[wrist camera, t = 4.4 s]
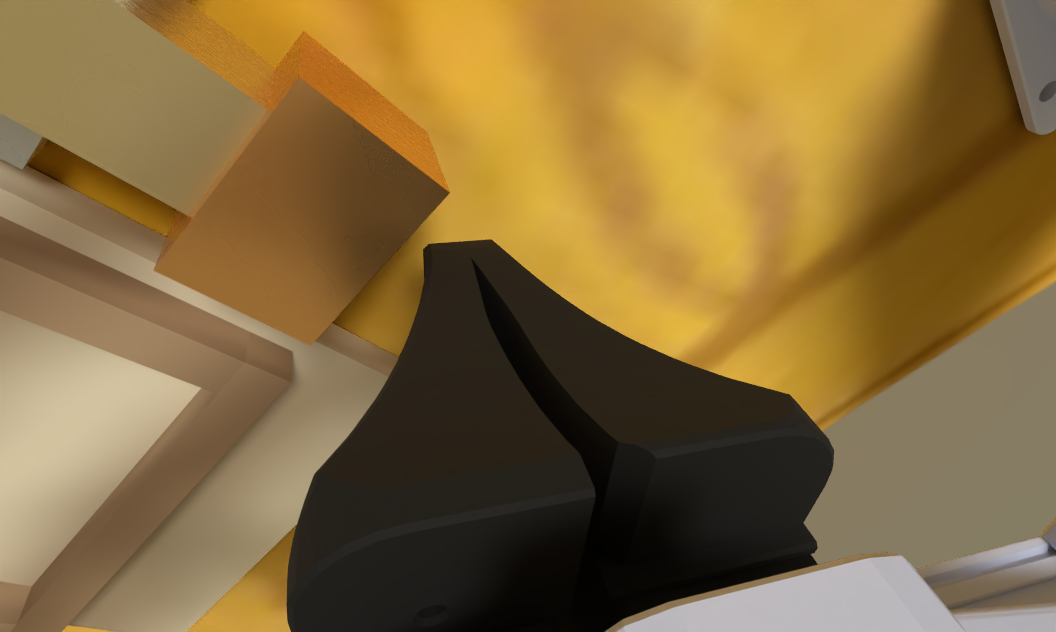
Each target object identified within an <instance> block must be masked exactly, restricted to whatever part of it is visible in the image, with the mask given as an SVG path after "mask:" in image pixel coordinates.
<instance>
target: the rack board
mask: <svg viewBox="0 0 1056 632" xmlns="http://www.w3.org/2000/svg"><path fill="white" fill-rule="evenodd" d="M165 240H166V237H165V236H163V235H161V234H159V233H157V232H155V231H153V230H151V229H149V228H147V227H145V226H143V225H141V224H139V223H138V222H136V221H134V220H132V219H130V218H128V217H126V216H124V215H122V214H120V213H118V212H116V211H114V210H112V209H110V208H108V207H107V206H105V205H103V204H101V203H99V202H97V201H95V200H93V199H91V198H89V197H87V196H85V195H83V194H81V193H79V192H78V191H76V190H74V189H72V188H70V187H68V186H66V185H64V184H62V183H60V182H58V181H56V180H54V179H52V178H50V177H48V176H47V175H45V174H43V173H41V172H39V171H37V170H35V169H33V168H31V167H29V166H27V165H26V166H25V167H24V168H23V169H20V168H18V167H16V166H14V165H12V164H10V163H8V162H6V161H4V160H2V159H0V632H62V631H63V630H64V629H65V627H66V626H67V625H71V626H78V627H86V628H93V629H101V630H109V631H116V632H186V631H188V630H189V629H190V628H191V627H192V626H193V625H194V624H195V623H196V622H197V621H198V620H199V619H200V618H201V617H202V616H203V615H204V614H205V613H206V612H207V611H208V610H209V609H210V608H211V607H212V606H213V605H214V604H215V603H216V602H217V601H218V600H219V599H220V598H221V597H223V596H224V595H225V594H226V593H227V592H228V591H229V590H230V589H231V588H232V587H233V586H234V585H235V584H236V583H237V582H238V581H239V580H240V579H241V578H242V577H243V576H244V575H245V574H246V573H247V572H248V571H249V570H250V569H251V568H252V567H253V566H254V565H255V564H257V563H258V562H259V561H260V560H261V559H262V558H263V557H264V556H265V555H266V554H267V553H268V552H269V551H270V550H271V549H272V548H273V547H274V546H275V545H276V544H277V543H278V542H279V541H280V540H281V539H282V538H283V537H284V536H285V535H286V534H287V533H288V532H289V531H290V530H292V529H293V528H294V527H295V526H296V525H297V523H298V519H299V516H300V513H301V510H302V507H303V504H304V501H305V498H306V495H307V492H308V490H309V487H310V484H311V481H312V479H313V476H314V474H315V473H316V471H317V470H318V469H319V468H320V467H321V466H322V465H323V464H324V463H325V462H326V460H327V459H328V458H329V457H330V456H331V455H332V454H333V453H334V451H335V450H336V449H337V448H338V447H339V446H340V445H341V444H342V443H343V441H344V440H345V439H346V438H347V437H348V436H349V434H350V433H351V432H352V431H353V429H354V428H355V427H356V425H357V424H358V422H359V421H360V420H361V418H362V417H363V415H364V414H365V413H366V411H367V410H368V409H369V407H370V406H371V404H372V403H373V402H374V400H375V399H376V397H377V396H378V394H379V392H380V391H381V389H382V388H383V386H384V384H385V383H386V381H387V379H388V377H389V375H390V374H391V372H392V370H393V368H394V366H395V365H396V363H397V361H398V358H399V357H397V356H395V355H393V354H391V353H389V352H387V351H385V350H383V349H381V348H379V347H378V346H376V345H374V344H372V343H370V342H368V341H366V340H364V339H362V338H360V337H358V336H356V335H354V334H352V333H350V332H349V331H347V330H345V329H343V328H341V327H339V326H337V325H335V324H333V323H331V324H330V325H329V326H328V328H327V329H326V330H325V331H324V332H323V333H322V334H321V335H320V336H319V337H318V339H317V340H316V341H315V342H314V343H313V344H312V345H311V346H310V345H308V344H306V343H304V342H302V341H299V340H297V339H295V338H293V337H291V336H289V335H287V334H285V333H283V332H281V331H279V330H276V329H274V328H272V327H270V326H268V325H266V324H264V323H262V322H260V321H258V320H256V319H253V318H251V317H249V316H247V315H245V314H243V313H241V312H239V311H237V310H235V309H233V308H231V307H228V306H226V305H224V304H222V303H220V302H218V301H216V300H214V299H212V298H210V297H208V296H205V295H203V294H201V293H199V292H197V291H195V290H193V289H191V288H189V287H187V286H185V285H182V284H180V283H178V282H176V281H174V280H172V279H170V278H168V277H166V276H164V275H162V274H160V273H157V272H155V271H153V270H154V267H155V265H156V262H157V260H158V257H159V255H160V252H161V250H162V247H163V245H164V242H165Z"/></svg>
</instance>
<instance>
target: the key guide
mask: <svg viewBox="0 0 1056 632" xmlns="http://www.w3.org/2000/svg"><path fill="white" fill-rule="evenodd" d="M47 141H48V139H47V138H45V137H43V136H41V135H39V134H38V133H36V132H34V131H32V130H30V129H28V128H27V127H25V126H23V125H21V124H19V123H18V122H16V121H14V120H12V119H10V118H8V117H7V116H5V115H3V114H1V113H0V159H2V160H4V161H6V162H8V163H10V164H12V165H14V166H16V167H18V168H20V169H23V168H24V167H25V166H26V165H27V164H28V163H29V162H30V161H31V160H32V159H33V158H34V157H35V156H36V155H37V153H38V152H39V151H40V150H41V149H42V148H43V147H44V146H45V144H46V143H47Z"/></svg>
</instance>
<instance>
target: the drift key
mask: <svg viewBox="0 0 1056 632" xmlns="http://www.w3.org/2000/svg"><path fill="white" fill-rule="evenodd" d="M0 113H1V114H3V115H5V116H7V117H8V118H10V119H12V120H14V121H16V122H18V123H19V124H21V125H23V126H25V127H27V128H28V129H30V130H32V131H34V132H36V133H38V134H39V135H41V136H43V137H45V138H47V139H48V140H50V141H52V142H54V143H56V144H58V145H59V146H61V147H63V148H65V149H67V150H69V151H70V152H72V153H74V154H76V155H78V156H79V157H81V158H83V159H85V160H87V161H89V162H90V163H92V164H94V165H96V166H98V167H100V168H101V169H103V170H105V171H107V172H109V173H110V174H112V175H114V176H116V177H118V178H120V179H121V180H123V181H125V182H127V183H129V184H131V185H132V186H134V187H136V188H138V189H140V190H141V191H143V192H145V193H147V194H149V195H151V196H152V197H154V198H156V199H158V200H160V201H162V202H163V203H165V204H167V205H169V206H171V207H172V208H174V209H176V210H177V213H176V215H175V218H174V220H173V223H172V225H171V227H170V230H169V232H168V235H167V237H166V240H165V242H164V245H163V247H162V250H161V252H160V255H159V257H158V260H157V262H156V265H155V267H154V270H153V271H155V272H157V273H160V274H162V275H164V276H166V277H168V278H170V279H172V280H174V281H176V282H178V283H180V284H182V285H185V286H187V287H189V288H191V289H193V290H195V291H197V292H199V293H201V294H203V295H205V296H208V297H210V298H212V299H214V300H216V301H218V302H220V303H222V304H224V305H226V306H228V307H231V308H233V309H235V310H237V311H239V312H241V313H243V314H245V315H247V316H249V317H251V318H253V319H256V320H258V321H260V322H262V323H264V324H266V325H268V326H270V327H272V328H274V329H276V330H279V331H281V332H283V333H285V334H287V335H289V336H291V337H293V338H295V339H297V340H299V341H302V342H304V343H306V344H308V345H310V346H311V345H312V344H313V343H314V342H315V341H316V340H317V339H318V337H319V336H320V335H321V334H322V333H323V332H324V331H325V330H326V329H327V328H328V326H329V325H330V324H331V323H332V322H333V321H334V320H335V319H336V318H337V316H338V315H339V314H340V313H341V312H342V311H343V310H344V309H345V308H346V307H347V305H348V304H349V303H350V302H351V301H352V300H353V299H354V298H355V297H356V296H357V294H358V293H359V292H360V291H361V290H362V289H363V288H364V287H365V286H366V285H367V283H368V282H369V281H370V280H371V279H372V278H373V277H374V276H375V275H376V274H377V272H378V271H379V270H380V269H381V268H382V267H383V266H384V265H385V264H386V263H387V261H388V260H389V259H390V258H391V257H392V256H393V255H394V254H395V253H396V252H397V250H398V249H399V248H400V247H401V246H402V245H403V244H404V243H405V242H406V240H407V239H408V238H409V237H410V236H411V235H412V234H413V233H414V232H415V231H416V229H417V228H418V227H419V226H420V225H421V224H422V223H423V222H424V221H425V220H426V218H427V217H428V216H429V215H430V214H431V213H432V212H433V211H434V210H435V209H436V207H437V206H438V205H439V204H440V203H441V202H442V201H443V200H444V199H445V198H446V196H447V195H448V194H449V193H450V192H449V189H448V186H447V184H446V181H445V178H444V176H443V173H442V170H441V168H440V165H439V162H438V160H437V157H436V154H435V152H434V149H433V146H432V144H431V141H430V139H429V136H428V133H427V132H426V131H425V130H424V129H422V128H421V127H420V126H419V125H418V124H416V123H415V122H414V121H413V120H412V119H410V118H409V117H408V116H407V115H405V114H404V113H403V112H402V111H401V110H399V109H398V108H397V107H396V106H395V105H393V104H392V103H391V102H390V101H388V100H387V99H386V98H385V97H384V96H382V95H381V94H380V93H379V92H378V91H376V90H375V89H374V88H373V87H371V86H370V85H369V84H368V83H367V82H365V81H364V80H363V79H362V78H361V77H359V76H358V75H357V74H356V73H354V72H353V71H352V70H351V69H350V68H348V67H347V66H346V65H345V64H344V63H342V62H341V61H340V60H339V59H337V58H336V57H335V56H334V55H333V54H331V53H330V52H329V51H328V50H327V49H325V48H324V47H323V46H322V45H320V44H319V43H318V42H317V41H316V40H314V39H313V38H312V37H311V36H310V35H308V34H307V33H306V32H305V31H303V32H302V34H301V35H300V36H299V38H298V39H297V41H296V42H295V43H294V45H293V46H292V47H291V49H290V50H289V51H288V53H287V54H286V56H285V57H284V58H283V60H282V61H281V62H280V64H279V65H278V66H277V68H275V67H274V66H272V65H271V64H270V63H268V62H267V61H266V60H265V59H263V58H262V57H261V56H259V55H258V54H257V53H255V52H254V51H253V50H251V49H250V48H249V47H247V46H246V45H245V44H243V43H242V42H241V41H239V40H238V39H237V38H236V37H234V36H233V35H232V34H230V33H229V32H228V31H226V30H225V29H224V28H222V27H221V26H220V25H218V24H217V23H216V22H214V21H213V20H212V19H210V18H209V17H208V16H207V15H205V14H204V13H203V12H201V11H200V10H199V9H197V8H196V7H195V6H193V5H192V4H191V3H189V2H188V1H187V0H0Z"/></svg>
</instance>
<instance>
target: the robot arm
mask: <svg viewBox="0 0 1056 632" xmlns="http://www.w3.org/2000/svg"><path fill="white" fill-rule="evenodd" d="M990 4H991V7H992V11H993V14H994V18H995V21H996V25H997V28H998V32H999V35H1000V39H1001V43H1002V46H1003V50H1004V53H1005V57H1006V60H1007V64H1008V67H1009V71H1010V74H1011V78H1012V81H1013V85H1014V88H1015V92H1016V95H1017V99H1018V103H1019V106H1020V110H1021V113H1022V117H1023V120H1024V124H1025V127H1026V128H1027V130H1028V131H1031V132H1033V133H1036V134H1039V135H1045V134H1048V133H1051V132H1052V131H1054V130H1055V129H1056V0H990ZM423 258H424V285H423V290H422V295H421V299H420V303H419V307H418V310H417V313H416V316H415V319H414V322H413V325H412V328H411V331H410V334H409V336H408V338H407V341H406V343H405V346H404V348H403V350H402V352H401V354H400V356H399V358H398V361H397V363H396V365H395V366H394V368H393V370H392V372H391V374H390V375H389V377H388V379H387V381H386V383H385V384H384V386H383V388H382V389H381V391H380V392H379V394H378V396H377V397H376V399H375V400H374V402H373V403H372V404H371V406H370V407H369V409H368V410H367V411H366V413H365V414H364V415H363V417H362V418H361V420H360V421H359V422H358V424H357V425H356V427H355V428H354V429H353V431H352V432H351V433H350V434H349V436H348V437H347V438H346V439H345V440H344V441H343V443H342V444H341V445H340V446H339V447H338V448H337V449H336V450H335V451H334V453H333V454H332V455H331V456H330V457H329V458H328V459H327V460H326V462H325V463H324V464H323V465H322V466H321V467H320V468H319V469H318V470H317V471H316V473H315V474H314V476H313V479H312V481H311V484H310V487H309V490H308V492H307V495H306V498H305V501H304V504H303V507H302V510H301V513H300V516H299V519H298V523H297V526H296V530H295V534H294V538H293V543H292V548H291V553H290V558H289V565H288V578H287V619H288V624H289V627H290V630H291V632H1056V518H1055V519H1054V520H1053V521H1052V522H1051V523H1050V524H1049V525H1048V526H1047V527H1046V529H1045V530H1044V531H1043V535H1042V536H1038V537H1034V538H1031V539H1027V540H1023V541H1020V542H1016V543H1012V544H1009V545H1005V546H1001V547H997V548H993V549H989V550H985V551H982V552H978V553H974V554H970V555H967V556H963V557H959V558H955V559H952V560H948V561H944V562H940V563H936V564H933V565H929V566H925V567H921V568H918V569H914V567H913V566H912V565H911V564H910V563H909V562H908V561H907V560H906V559H905V558H904V557H903V556H902V555H897V554H892V553H875V554H862V555H855V556H851V557H847V558H843V559H839V560H835V561H831V562H827V563H823V564H819V565H818V564H817V563H816V561H815V560H814V558H813V557H812V556H811V554H812V553H815V551H816V550H817V542H816V540H815V539H814V537H813V536H812V535H811V533H810V532H809V531H808V529H807V528H806V526H805V525H804V523H803V522H804V521H805V519H806V517H807V515H808V514H809V512H810V510H811V509H812V507H813V505H814V504H815V502H816V500H817V499H818V497H819V495H820V493H821V492H822V490H823V488H824V487H825V485H826V483H827V481H828V478H829V476H830V474H831V471H832V468H833V459H834V449H833V447H832V445H831V443H830V441H829V439H828V438H827V437H826V435H825V434H824V433H823V432H822V431H821V430H820V429H819V427H818V426H817V425H816V424H815V423H814V422H813V420H812V419H811V418H810V417H809V416H808V415H807V414H806V412H805V411H804V410H803V409H802V408H801V407H800V405H799V404H798V403H797V402H796V401H795V400H794V399H793V398H792V397H791V396H790V395H789V394H785V393H782V392H778V391H774V390H771V389H767V388H763V387H760V386H756V385H752V384H749V383H745V382H741V381H737V380H734V379H730V378H727V377H724V376H721V375H718V374H715V373H712V372H710V371H707V370H704V369H701V368H698V367H695V366H692V365H690V364H687V363H685V362H682V361H679V360H677V359H674V358H672V357H669V356H667V355H665V354H663V353H660V352H658V351H656V350H654V349H651V348H649V347H647V346H645V345H643V344H640V343H638V342H636V341H634V340H632V339H630V338H628V337H626V336H624V335H622V334H621V333H619V332H617V331H615V330H614V329H612V328H610V327H608V326H606V325H605V324H603V323H601V322H599V321H598V320H596V319H594V318H593V317H591V316H589V315H588V314H586V313H585V312H583V311H582V310H580V309H579V308H577V307H576V306H574V305H573V304H571V303H570V302H568V301H567V300H566V299H564V298H563V297H561V296H560V295H559V294H557V293H556V292H555V291H553V290H552V289H550V288H549V287H548V286H547V285H545V284H544V283H543V282H541V281H540V280H539V279H538V278H536V277H535V276H534V275H533V274H532V273H530V272H529V271H528V270H527V269H525V268H524V267H523V266H522V265H521V264H520V263H518V262H517V261H516V260H515V259H514V258H513V257H511V256H510V255H509V254H508V253H507V252H506V251H504V250H503V249H502V248H501V247H500V246H499V245H497V244H496V243H495V242H494V241H493V240H477V241H463V242H449V243H435V244H428V245H427V246H426V247H425V248H424V249H423Z"/></svg>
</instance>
